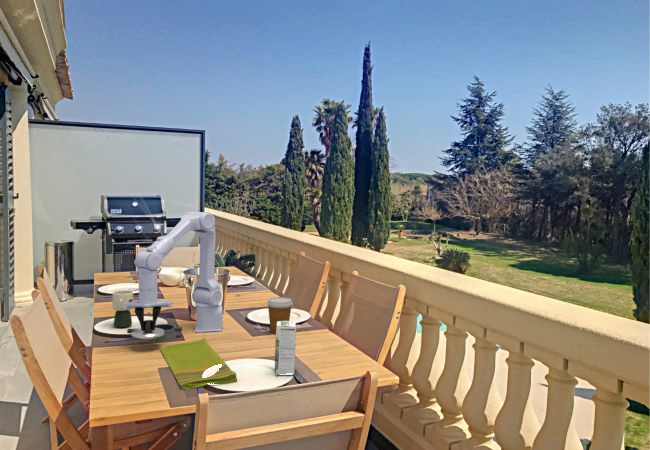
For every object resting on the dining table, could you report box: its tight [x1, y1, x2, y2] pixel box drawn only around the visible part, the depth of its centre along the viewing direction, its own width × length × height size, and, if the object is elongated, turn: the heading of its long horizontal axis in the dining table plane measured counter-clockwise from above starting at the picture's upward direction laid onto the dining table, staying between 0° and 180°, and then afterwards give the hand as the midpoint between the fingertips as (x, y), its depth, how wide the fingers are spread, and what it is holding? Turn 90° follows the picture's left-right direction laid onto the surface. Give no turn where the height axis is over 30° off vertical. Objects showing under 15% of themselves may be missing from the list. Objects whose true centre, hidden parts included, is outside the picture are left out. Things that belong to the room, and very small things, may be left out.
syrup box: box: [274, 320, 297, 377], centre depth 149 cm, size 6×6×14 cm
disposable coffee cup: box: [266, 296, 293, 335], centre depth 189 cm, size 10×10×12 cm
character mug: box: [112, 289, 134, 329], centre depth 190 cm, size 11×7×13 cm, turn 13°
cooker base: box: [126, 323, 183, 342], centre depth 178 cm, size 18×9×4 cm, turn 104°
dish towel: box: [159, 337, 238, 390], centre depth 153 cm, size 15×36×3 cm, turn 27°
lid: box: [131, 319, 164, 340], centre depth 167 cm, size 10×10×5 cm
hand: (148, 329), depth 167 cm, fingers closed on lid, 3 cm apart
